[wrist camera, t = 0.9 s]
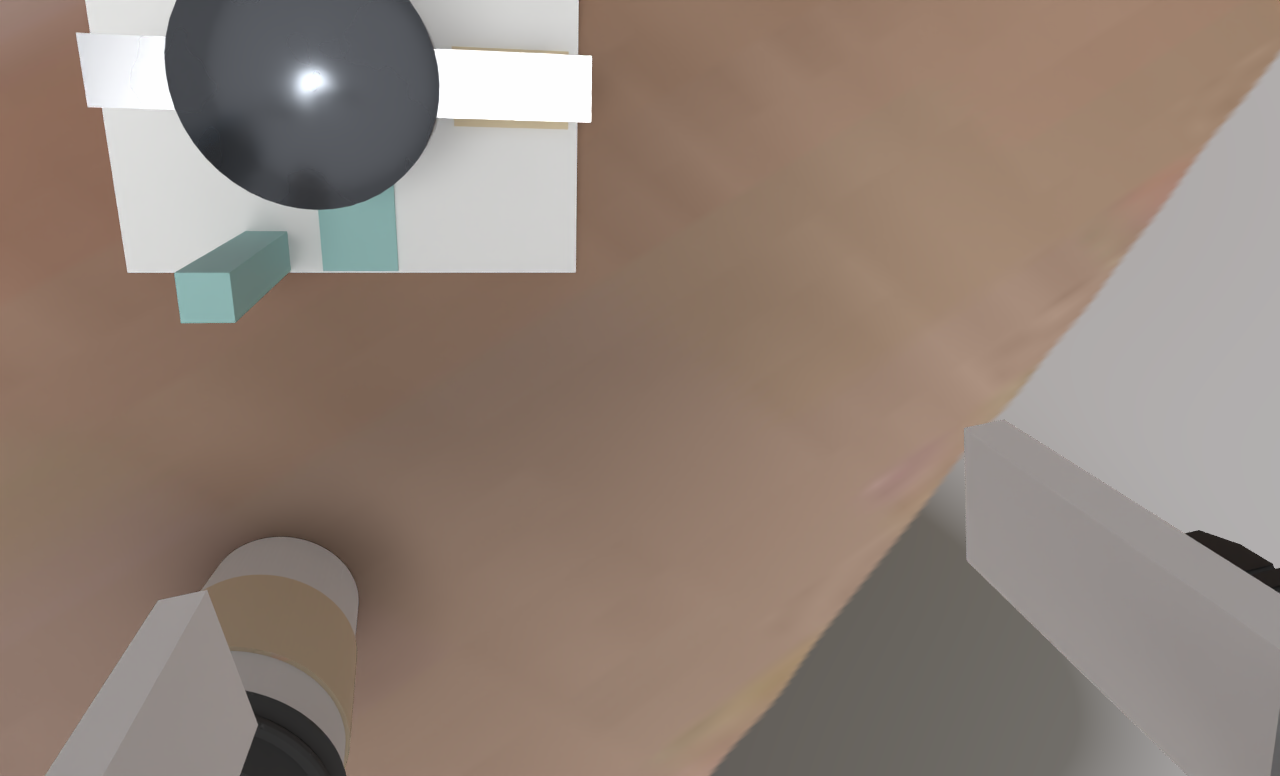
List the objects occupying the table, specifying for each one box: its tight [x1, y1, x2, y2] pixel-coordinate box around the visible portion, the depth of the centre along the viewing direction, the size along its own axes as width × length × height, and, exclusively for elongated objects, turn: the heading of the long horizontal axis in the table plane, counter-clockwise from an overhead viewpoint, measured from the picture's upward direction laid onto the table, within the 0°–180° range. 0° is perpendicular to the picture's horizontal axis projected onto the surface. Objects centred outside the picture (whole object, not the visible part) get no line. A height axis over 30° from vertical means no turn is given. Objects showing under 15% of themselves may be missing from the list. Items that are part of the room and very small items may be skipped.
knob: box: [76, 0, 592, 210], centre depth 27 cm, size 15×8×3 cm, turn 88°
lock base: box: [85, 0, 579, 323], centre depth 30 cm, size 18×15×10 cm
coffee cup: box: [201, 537, 359, 776], centre depth 34 cm, size 9×9×15 cm
